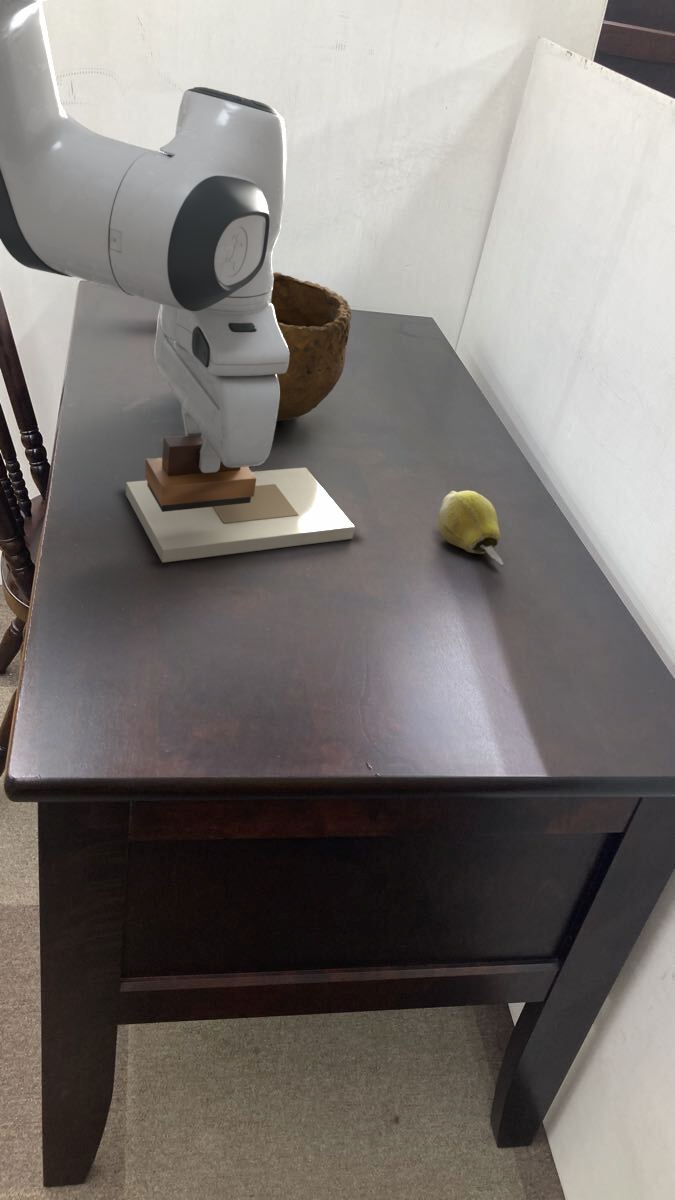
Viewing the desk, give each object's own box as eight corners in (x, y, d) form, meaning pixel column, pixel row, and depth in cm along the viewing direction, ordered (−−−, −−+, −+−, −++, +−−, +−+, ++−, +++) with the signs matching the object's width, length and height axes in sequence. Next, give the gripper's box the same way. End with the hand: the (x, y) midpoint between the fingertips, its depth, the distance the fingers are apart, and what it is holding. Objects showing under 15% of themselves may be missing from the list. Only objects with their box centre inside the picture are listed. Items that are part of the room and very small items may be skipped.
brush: (160, 513, 80) (164, 456, 77) (144, 484, 84) (147, 429, 80) (253, 503, 84) (260, 449, 81) (234, 477, 88) (240, 423, 84)
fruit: (477, 581, 89) (414, 519, 93) (508, 579, 93) (446, 519, 98) (510, 536, 86) (443, 474, 91) (540, 535, 91) (475, 477, 95)
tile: (162, 563, 82) (163, 548, 81) (125, 494, 90) (126, 481, 89) (352, 539, 91) (355, 525, 90) (303, 478, 99) (306, 466, 98)
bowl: (339, 397, 118) (361, 284, 109) (323, 462, 103) (347, 338, 94) (199, 367, 117) (210, 252, 108) (163, 429, 102) (172, 300, 93)
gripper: (141, 267, 79) (135, 409, 87) (222, 365, 65) (205, 523, 74) (208, 268, 82) (196, 406, 90) (299, 363, 68) (275, 515, 76)
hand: (201, 460), depth 82 cm, fingers closed on brush
